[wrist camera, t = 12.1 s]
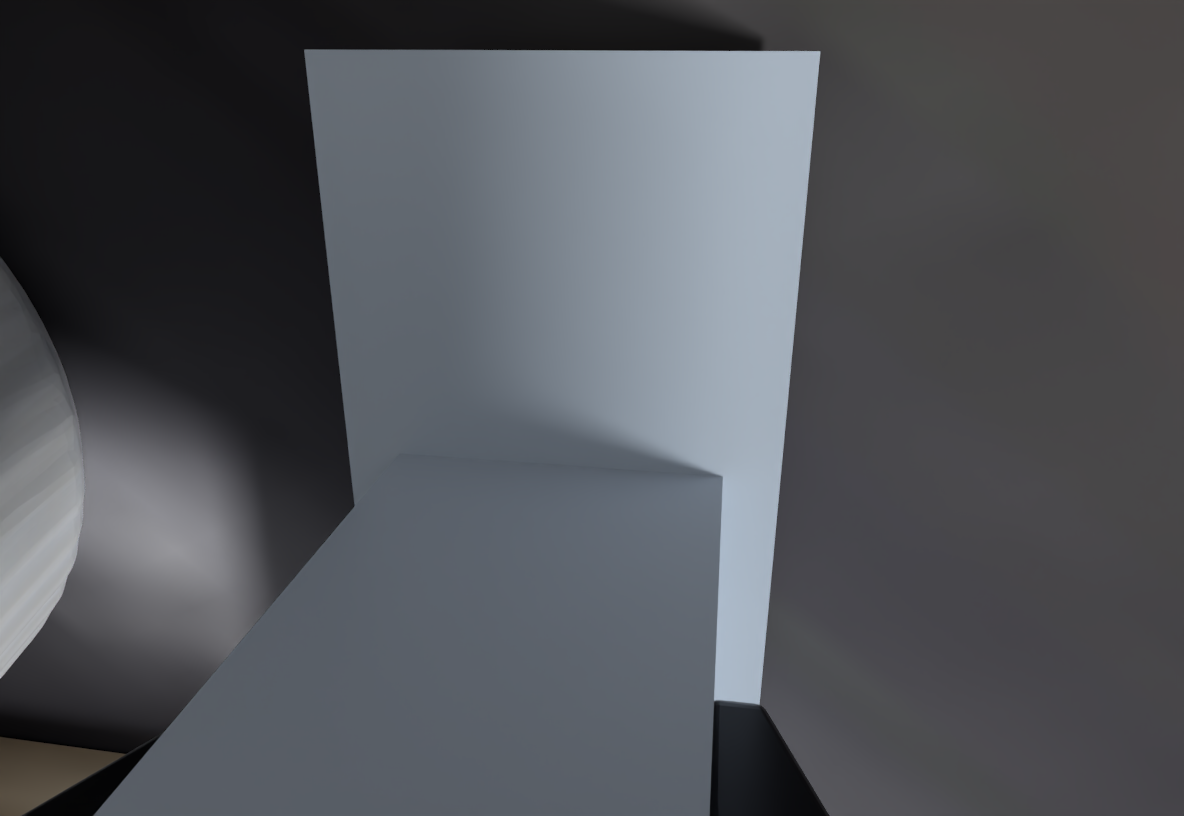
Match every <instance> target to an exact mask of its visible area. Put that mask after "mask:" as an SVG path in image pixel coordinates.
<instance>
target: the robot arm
mask: <svg viewBox="0 0 1184 816" xmlns="http://www.w3.org/2000/svg"><path fill="white" fill-rule="evenodd" d="M163 733H164V732H163ZM163 733H161V734H160V735H158V736H156V737H155V738H153V739H151V740H149V741H148V742H146V743H144V744H143V745H141V746H139V747H137V748H136V749H134V750H132V751H131V752H129V753H127V754H125V755H124V756H122V757H120V758H119V759H117V760H115V761H114V762H112V763H110V764H108V765H107V766H105V767H103V768H102V769H100V770H98V771H96V772H95V773H93V774H91V775H90V776H88V777H86V778H85V779H83V780H81V781H79V782H78V783H76V784H74V785H73V786H71V787H69V788H67V789H66V790H64V791H62V792H61V793H59V794H57V795H55V796H54V797H52V798H50V799H49V800H47V801H45V802H44V803H42V804H40V805H38V806H37V807H35V808H33V809H32V810H30V811H28V812H26V813H25V814H23V815H21V816H94V814H95V813H96V812H97V811H98V810H99V808H100V807H101V806H102V805H103V804H104V803H105V801H106V800H107V799H108V798H109V797H110V795H111V794H112V793H113V792H114V791H115V790H116V788H117V787H118V786H119V785H120V784H121V782H122V781H123V780H124V779H125V778H126V777H127V775H128V774H129V773H130V772H131V771H132V769H133V768H134V767H135V766H136V765H137V764H138V762H139V761H140V760H141V759H142V758H143V756H144V755H145V754H146V753H147V752H148V750H149V749H150V748H151V747H152V746H153V745H154V743H155V742H156V741H157V740H158V739H159V737H160V736H161V735H162V734H163ZM710 816H829V814H828V813H827V811H826V809H825V808H824V806H823V804H822V803H821V801H820V799H819V798H818V796H817V794H816V793H815V791H814V789H813V788H812V786H811V784H810V783H809V781H808V779H807V778H806V776H805V774H804V773H803V771H802V769H801V768H800V766H799V764H798V763H797V761H796V759H795V758H794V756H793V754H792V753H791V751H790V749H789V748H788V746H787V744H786V743H785V741H784V739H783V738H782V736H781V734H780V733H779V731H778V729H777V728H776V726H775V724H774V723H773V721H772V719H771V718H770V716H769V714H768V713H767V712H766V710H765V709H764V708H763V707H762V706H760V705H758V704H754V703H745V702H735V701H726V700H715V701H714V715H713V740H712V765H711V790H710Z"/></svg>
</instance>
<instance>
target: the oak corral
mask: <svg viewBox="0 0 1184 816" xmlns="http://www.w3.org/2000/svg"><path fill="white" fill-rule="evenodd" d="M124 755H125V754H121V753H114V752H107V751H99V750H92V749H85V748H77V747H70V746H63V745H55V744H48V743H41V742H33V741H26V740H19V739H12V738H4V737H0V816H21V815H23V814H25V813H26V812H28V811H30V810H32V809H33V808H35V807H37V806H38V805H40V804H42V803H44V802H45V801H47V800H49V799H50V798H52V797H54V796H55V795H57V794H59V793H61V792H62V791H64V790H66V789H67V788H69V787H71V786H73V785H74V784H76V783H78V782H79V781H81V780H83V779H85V778H86V777H88V776H90V775H91V774H93V773H95V772H96V771H98V770H100V769H102V768H103V767H105V766H107V765H108V764H110V763H112V762H114V761H115V760H117V759H119V758H120V757H122V756H124Z"/></svg>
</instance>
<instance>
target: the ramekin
mask: <svg viewBox="0 0 1184 816" xmlns="http://www.w3.org/2000/svg"><path fill="white" fill-rule="evenodd" d="M84 496H85V479H84V466H83V450H82V441H81V434H80V428H79V421H78V417H77V412H76V408H75V404H74V400H73V397H72V394H71V390H70V387H69V384H68V380H67V377H66V374H65V371H64V369H63V366H62V364H61V361H60V359H59V356H58V353H57V351H56V349H55V347H54V345H53V343H52V341H51V339H50V337H49V335H48V332H47V330H46V328H45V326H44V324H43V322H42V321H41V319H40V317H39V315H38V313H37V311H36V310H35V308H34V306H33V304H32V303H31V301H30V299H29V298H28V296H27V294H26V292H25V291H24V289H23V288H22V287H21V285H20V284H19V282H18V281H17V279H16V278H15V276H14V275H13V273H12V272H11V270H10V269H9V267H8V266H7V265H6V263H5V262H4V261H3V259H2V258H1V257H0V679H1V677H2V676H3V675H4V674H5V673H6V671H7V670H8V669H9V668H10V666H11V665H12V664H13V663H14V662H15V660H16V659H17V658H18V657H19V656H20V654H21V653H22V652H23V651H24V650H25V648H26V647H27V646H28V645H29V644H30V642H31V641H32V640H33V639H34V637H35V636H36V635H37V633H38V632H39V631H40V629H41V628H42V627H43V625H44V624H45V622H46V620H47V618H48V617H49V614H50V612H51V611H52V610H53V608H54V607H55V605H56V604H57V602H58V601H59V599H60V598H61V596H62V593H63V591H64V588H65V584H66V580H67V576H68V574H69V573H70V571H71V570H72V567H73V565H74V563H75V559H76V556H77V549H78V539H79V535H80V531H81V527H82V524H83V501H84Z"/></svg>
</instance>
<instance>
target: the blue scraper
mask: <svg viewBox="0 0 1184 816" xmlns="http://www.w3.org/2000/svg"><path fill="white" fill-rule="evenodd" d="M304 53H305V62H306V71H307V80H308V89H309V98H310V107H311V116H312V125H313V134H314V143H315V152H316V161H317V170H318V179H319V188H320V197H321V207H322V216H323V225H324V234H325V243H326V252H327V261H328V270H329V279H330V288H331V297H332V306H333V315H334V324H335V333H336V342H337V351H338V360H339V369H340V378H341V387H342V396H343V405H344V414H345V423H346V432H347V441H348V450H349V460H350V469H351V478H352V487H353V496H354V505H355V507H354V508H353V509H352V510H351V511H350V513H349V514H348V515H347V516H346V517H345V518H344V520H343V521H342V522H341V523H340V524H339V526H338V527H337V528H336V529H335V530H334V531H333V533H332V534H331V535H330V536H329V537H328V539H327V540H326V541H325V542H324V543H323V544H322V546H321V547H320V548H319V549H318V550H317V552H316V553H315V554H314V555H313V556H312V558H311V559H310V560H309V561H308V562H307V563H306V565H305V566H304V567H303V568H302V569H301V571H300V572H299V573H298V574H297V575H296V576H295V578H294V579H293V580H292V581H291V582H290V584H289V585H288V586H287V587H286V588H285V589H284V591H283V592H282V593H281V594H280V595H279V597H278V598H277V599H276V600H275V601H274V603H273V604H272V605H271V606H270V607H269V608H268V610H267V611H266V612H265V613H264V614H263V616H262V617H261V618H260V619H259V620H258V621H257V623H256V624H255V625H254V626H253V627H252V629H251V630H250V631H249V632H248V633H247V634H246V636H245V637H244V638H243V639H242V640H241V642H240V643H239V644H238V645H237V646H236V647H235V649H234V650H233V651H232V652H231V653H230V655H229V656H228V657H227V658H226V659H225V661H224V662H223V663H222V664H221V665H220V666H219V668H218V669H217V670H216V671H215V672H214V674H213V675H212V676H211V677H210V678H209V679H208V681H207V682H206V683H205V684H204V685H203V687H202V688H201V689H200V690H199V691H198V692H197V694H196V695H195V696H194V697H193V698H192V700H191V701H190V702H189V703H188V704H187V706H186V707H185V708H184V709H183V710H182V711H181V713H180V714H179V715H178V716H177V717H176V719H175V720H174V721H173V722H172V723H171V724H170V726H169V727H168V728H167V729H166V730H165V732H164V733H163V734H162V735H161V736H160V737H159V739H158V740H157V741H156V742H155V743H154V745H153V746H152V747H151V748H150V749H149V750H148V752H147V753H146V754H145V755H144V756H143V758H142V759H141V760H140V761H139V762H138V764H137V765H136V766H135V767H134V768H133V769H132V771H131V772H130V773H129V774H128V775H127V777H126V778H125V779H124V780H123V781H122V782H121V784H120V785H119V786H118V787H117V788H116V790H115V791H114V792H113V793H112V794H111V795H110V797H109V798H108V799H107V800H106V801H105V803H104V804H103V805H102V806H101V807H100V808H99V810H98V811H97V812H96V813H95V814H94V816H710V790H711V765H712V740H713V715H714V701H715V700H726V701H735V702H745V703H754V704H758V705H759V704H760V693H761V682H762V672H763V661H764V650H765V639H766V629H767V618H768V607H769V596H770V586H771V575H772V564H773V554H774V543H775V532H776V521H777V511H778V500H779V489H780V478H781V468H782V457H783V446H784V435H785V425H786V414H787V403H788V393H789V382H790V371H791V360H792V350H793V339H794V328H795V317H796V307H797V296H798V285H799V274H800V264H801V253H802V242H803V232H804V221H805V210H806V199H807V189H808V178H809V167H810V156H811V146H812V135H813V124H814V113H815V103H816V92H817V81H818V70H819V60H820V51H617V50H304Z"/></svg>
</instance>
